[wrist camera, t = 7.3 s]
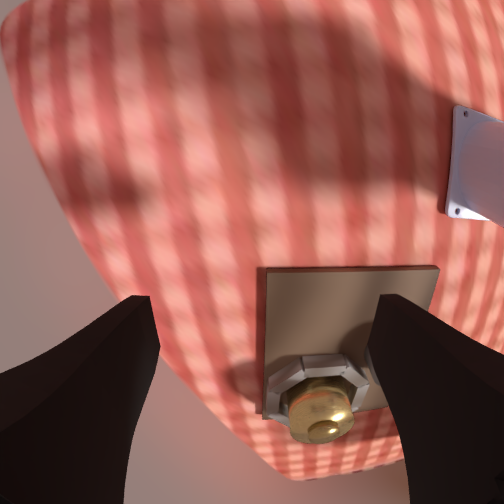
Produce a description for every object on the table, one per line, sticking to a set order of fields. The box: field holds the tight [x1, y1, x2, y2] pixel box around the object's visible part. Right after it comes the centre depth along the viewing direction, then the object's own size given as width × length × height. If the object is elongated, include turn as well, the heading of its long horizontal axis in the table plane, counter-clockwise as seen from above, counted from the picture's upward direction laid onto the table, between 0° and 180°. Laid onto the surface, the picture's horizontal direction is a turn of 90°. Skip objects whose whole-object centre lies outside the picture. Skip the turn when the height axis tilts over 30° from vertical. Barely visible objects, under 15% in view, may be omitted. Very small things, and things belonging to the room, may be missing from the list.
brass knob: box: [286, 375, 354, 444], centre depth 21 cm, size 5×5×5 cm
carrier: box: [262, 266, 440, 427], centre depth 21 cm, size 13×16×4 cm
